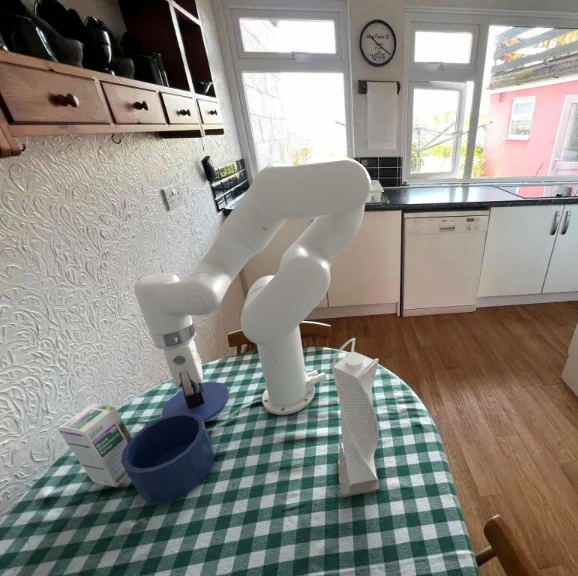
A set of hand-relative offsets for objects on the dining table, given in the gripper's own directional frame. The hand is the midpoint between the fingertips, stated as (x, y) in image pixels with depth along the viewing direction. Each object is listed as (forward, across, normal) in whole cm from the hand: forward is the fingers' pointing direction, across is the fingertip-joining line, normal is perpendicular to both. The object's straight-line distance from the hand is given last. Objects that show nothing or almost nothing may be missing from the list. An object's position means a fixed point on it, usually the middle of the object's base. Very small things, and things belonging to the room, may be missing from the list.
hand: (196, 399), depth 72 cm
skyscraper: (+4, -33, -26) cm, 42 cm away
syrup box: (+4, -8, +14) cm, 17 cm away
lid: (+1, 0, 0) cm, 1 cm away
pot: (+4, -14, +4) cm, 15 cm away
